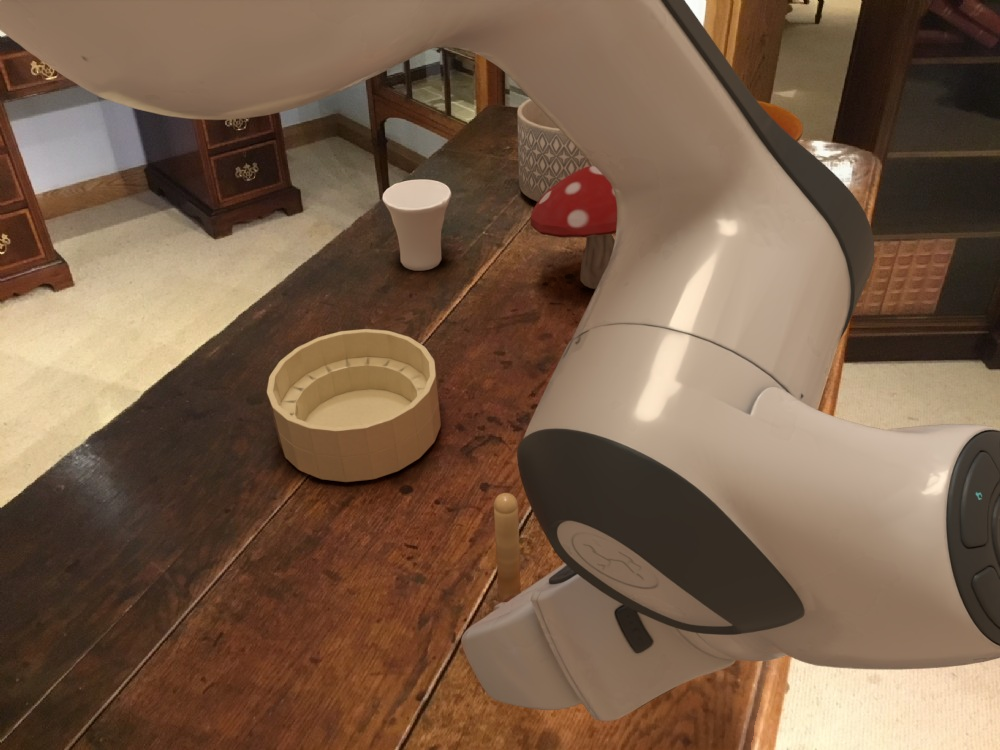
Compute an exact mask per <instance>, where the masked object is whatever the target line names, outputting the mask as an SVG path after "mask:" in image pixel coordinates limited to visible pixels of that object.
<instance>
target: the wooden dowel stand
mask: <svg viewBox="0 0 1000 750" xmlns="http://www.w3.org/2000/svg"><path fill="white" fill-rule="evenodd" d="M493 514H494V515H493V516H494V517H493V518H494V533H495V535H494V536H495V553H496V571H497V589H498V604H499V603H501V602H502V601H504V600H505V599H507V598H508V597H510V596H512V595H513V594H516V595H517V594H520V593H521V592H522V591H521V589H522V588H521V587H522V586H521V561H520V560H521V558H520V557H521V555H520V527H519V526H520V524H519V523H520V521H519V503H518V500H517V497H516V496H515V495H514V494H512V493H509V492H502V493H500V494H498V495H497V496H496V497H495V499H494V501H493ZM493 611H494V610H492V611H491V612H489V613H488V614H487V615H489V614H490V613H492V612H493Z"/></svg>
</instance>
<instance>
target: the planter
mask: <svg viewBox="0 0 1000 750" xmlns="http://www.w3.org/2000/svg"><path fill="white" fill-rule="evenodd" d="M516 113H517V114H516V116H517V153H518V155H517V156H518V157H517V158H518V160H517V161H518V186H519V190H520V191H521V193H522V194H523V195H525V196H526V197H527V198H528V199H531V200H533V201H535V202H536V203H538V201H539V200H540V198H541V197H542V196H543V195H544V194H545V193H546V192H547V191H548V190H549V189H551V188H552V187H553V186H555V185H556V184H557V183H558V182H560V181H561V180H563V179H564V178H566V177H567V176H569V175H571V174H573V173H574V172H576V171H578V170H580V169H583V168H585V167H588V166H594V165H593V164H592V163H591V162H590V161H589V160H588V158H587V157H586V156H585V155H584V154H583V153H582V152H581V151H580V150H579V149H578V148H577V147H576V146H575V145H574V144H573V143H572V142H571V141H570V140H569V139H568V138H567V136H566V135H565V134H564V133H563V132H562V131H561V130H560V129H559V128H558V127H557V126H556V125H555V124H554V123H553V122H552V121H551V120H550V119H549V118H548V117H547V116H546V114H545V113H544V112H543V111H542V110H541V109H540V108H539V107H538V106H537V105H536V104H535V103H534V102H533V101H532V100H531V99H530V98H529V99H526V100H525V101H523V102H522V103H521V104H520V105H519V106H518V108H517V111H516Z"/></svg>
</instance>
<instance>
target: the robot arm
mask: <svg viewBox="0 0 1000 750" xmlns="http://www.w3.org/2000/svg"><path fill="white" fill-rule="evenodd" d="M0 31H1V32H2V33H3V34H5V35H6V36H7V37H8V38H10V39H11V40H12V41H13V42H15V43H17V45H19V46H20V47H21V48H23V49H24V50H26V51H27V52H28V53H30V54H31V55H32V56H34V57H36V58H37V59H38V60H39V61H41V62H42V63H43V64H45V65H47V66H48V67H50V68H51V69H53V70H54V71H56V72H57V73H58V74H60V75H61V76H63V77H65V78H66V79H68V80H69V81H71V82H72V83H74V84H76V85H78V86H79V87H81V88H83V89H84V90H86V91H87V92H89V93H91V94H93V95H96V96H97V97H99V98H101V99H104V100H107V101H110V102H113V103H116V104H119V105H122V106H125V107H129V108H132V109H135V110H139V111H143V112H148V113H152V114H156V115H161V116H167V117H173V118H181V119H189V120H204V121H205V120H206V121H207V120H209V121H225V120H226V121H227V120H242V119H243V120H244V119H250V118H257V117H264V116H268V115H269V116H270V115H274V114H279V113H283V112H287V111H291V110H294V109H297V108H300V107H303V106H306V105H309V104H313V103H316V102H317V101H320V100H324V99H325V98H328V97H330V96H333V95H335V94H338V93H341V92H343V91H345V90H348V89H350V88H352V87H354V86H357V85H359V84H361V83H363V82H365V81H367V80H369V79H371V78H374V77H376V76H378V75H380V74H383V73H384V72H387V71H388V70H390V69H393V68H395V67H397V66H398V65H401V64H402V63H405V62H407V61H409V60H410V59H413V58H414V57H416V56H417V57H418V56H419V55H421V54H423V53H425V52H428V51H429V50H432V49H436V48H454V49H460V50H464V51H468V52H471V53H474V54H476V55H478V56H480V57H482V58H483V59H486V60H487V61H488V62H490V63H492V64H493V65H495V66H496V67H498V68H499V69H500V70H502V71H503V72H504V73H505V74H506V75H507V76H508V77H509V78H510V79H511V80H512V81H513V82H514V83H515V84H516V85H517V87H518V88H520V90H522V92H523V93H524V94H526V96H527V97H528V98H529V99H531V100H532V101H533V102H534V103H535V104H536V105H537V106H538V107H539V108H540V109H541V110H542V111H543V112H544V113H545V114H546V116H547V117H548V118H549V119H550V120H551V121H552V122H553V123H554V124H555V125H556V126H557V127H558V128H559V129H560V130H561V131H562V132H563V133H564V134H565V135H566V136H567V138H568V139H569V140H570V141H571V142H572V143H573V144H574V145H575V146H576V147H577V148H578V149H579V150H580V151H581V152H582V153H583V154H584V155H585V156H586V157H587V158H588V160H589V161H590V162H591V163H592V164H593V165H594V166H595V167H596V168H597V169H598V170H599V171H600V172H601V173H602V174H603V175H604V176H605V177H606V178H607V180H608V181H609V182H610V184H611V185H612V187H613V190H614V193H615V197H616V203H617V229H616V233H615V237H614V240H615V243H614V247H613V252H612V255H611V258H610V261H609V263H608V266H607V268H606V270H605V272H604V274H603V276H602V278H601V280H600V282H599V284H598V286H597V288H596V289H594V292H593V295H592V296H591V298H590V300H589V302H588V304H587V307H586V309H585V311H584V313H583V315H582V316H581V319H580V321H579V323H578V326H577V327H576V329H575V331H574V333H573V335H572V337H571V340H570V341H569V342H568V343H567V345H566V347H565V349H564V351H563V353H562V355H561V357H560V358H559V360H558V363H557V365H556V367H555V368H554V371H553V373H552V374H551V377H550V379H549V382H548V383H547V385H546V388H545V390H544V392H543V394H542V395H541V398H540V400H539V402H538V404H537V407H536V409H535V411H534V413H533V414H532V417H531V419H530V421H529V424H528V425H527V428H526V430H525V433H524V435H523V437H522V440H521V441H520V442H519V443H518V446H517V449H516V460H517V466H518V472H519V478H520V482H521V484H522V487H523V490H524V493H525V496H526V499H527V501H528V503H529V506H530V508H531V510H532V512H533V514H534V516H535V518H536V520H537V522H538V524H539V526H540V528H541V530H542V532H543V533H544V535H545V537H546V539H547V540H548V542H549V544H550V546H551V547H552V549H553V551H554V552H555V553H556V555H557V556H558V558H559V559H560V560H561V561H562V562H563V564H561V565H560V566H558V567H557V568H555V569H554V570H552V571H551V572H550V573H548V574H547V575H545V576H543V577H542V578H541V579H539V580H537V581H536V582H535V583H533V584H532V585H530V586H528V587H527V588H525V589H524V590H523V591H521V593H520V594H517V595H516V594H513V595H512V596H510V597H508V598H507V599H505V600H504V601H502V602H501V603H499V602H498V604H496V605H495V606H494V607H493V610H492V611H493V612H492V611H491V612H492V613H491V612H489V613H490V614H489V613H488V614H489V615H488V614H487V615H485V616H484V617H483V618H481V619H480V620H478V621H477V622H475V623H474V624H472V625H470V626H469V627H468V628H467V629H466V630H465V631H464V633H463V634H462V636H461V639H460V640H461V641H460V644H461V648H462V651H463V653H464V655H465V657H466V660H467V662H468V664H469V666H470V668H471V669H472V671H473V673H474V676H475V677H476V679H477V681H478V682H479V684H480V685H481V687H482V689H483V690H484V692H485V693H486V694H487V696H488V697H490V698H491V699H492V700H494V701H497V702H500V703H503V704H506V705H511V706H515V707H520V708H526V709H532V710H540V711H560V710H565V709H569V708H574V707H576V706H580V705H583V707H584V708H585V709H586V710H587V712H588V714H589V715H590V716H591V717H592V718H593V719H594V720H596V721H599V722H613V721H617V720H619V719H623V718H624V717H626V716H628V715H629V714H631V713H632V712H634V711H636V710H639V709H640V708H642V707H643V706H645V705H647V704H648V703H650V702H652V701H654V700H656V699H657V698H659V697H661V696H663V695H665V694H667V693H668V692H670V691H673V690H674V689H676V688H677V687H679V686H682V685H683V684H685V683H688V682H690V681H693V680H695V679H698V678H701V677H704V676H707V675H711V674H713V673H716V672H719V671H722V670H724V669H727V668H730V667H731V666H732V665H734V664H735V662H736V661H739V662H741V661H742V662H752V663H753V662H769V661H773V660H774V661H775V660H778V659H781V658H784V657H787V656H788V657H790V658H792V659H794V660H797V661H798V662H802V663H804V664H808V665H811V666H815V667H826V668H832V669H833V668H834V669H849V670H872V671H873V670H874V671H875V670H876V671H877V670H879V671H880V670H881V671H885V670H888V671H891V670H892V671H893V670H894V671H896V670H897V671H902V670H928V669H930V670H931V669H941V668H942V669H943V668H954V667H960V666H961V667H963V666H968V665H975V664H981V663H985V662H990V661H993V660H994V661H995V660H997V659H1000V428H998V427H994V426H992V425H986V424H985V425H984V424H977V423H976V424H975V423H945V424H944V423H943V424H926V425H913V426H903V427H895V428H887V429H886V428H880V427H875V426H870V425H865V424H861V423H857V422H854V421H850V420H847V419H843V418H841V417H838V416H834V415H831V414H829V413H826V412H824V411H821V410H819V407H820V403H821V401H822V398H823V395H824V391H825V388H826V385H827V381H828V379H829V376H830V373H831V369H832V366H833V364H834V360H835V357H836V354H837V351H838V347H839V345H840V341H841V339H842V338H843V336H844V335H845V332H846V331H847V329H848V326H849V324H850V321H851V319H852V317H853V314H854V313H855V310H856V308H857V305H858V303H859V301H860V298H861V297H862V294H863V292H864V289H865V287H866V286H867V285H866V284H867V283H868V280H869V278H870V276H871V273H872V270H873V266H874V262H875V252H876V251H875V240H874V233H873V230H872V227H871V224H870V221H869V219H868V216H867V214H866V213H865V210H864V209H863V207H862V206H861V204H860V202H859V200H858V199H857V198H856V196H855V195H854V194H853V192H852V191H851V190H850V189H849V188H848V186H847V185H846V184H845V182H843V181H842V180H841V179H840V178H839V177H838V176H837V175H836V174H835V172H833V171H832V170H831V169H830V168H829V167H828V166H826V165H825V164H824V163H823V162H822V161H821V160H820V159H818V158H817V156H815V155H814V154H812V153H811V152H810V151H809V150H808V149H806V147H804V146H803V145H802V144H801V143H800V142H798V141H796V140H795V139H794V138H792V137H791V136H790V135H789V134H788V133H787V132H786V131H785V130H784V129H782V128H781V127H780V126H779V125H778V124H777V123H776V122H775V121H774V120H773V119H772V118H771V117H770V116H769V114H768V113H767V112H766V111H765V110H764V109H763V108H762V107H761V105H760V104H759V103H758V102H757V101H758V100H757V99H756V98H755V97H754V95H753V94H752V93H751V92H750V89H748V88H747V86H746V85H745V83H744V82H743V81H742V79H741V78H740V76H739V75H738V73H736V71H735V70H734V67H732V65H731V64H730V63H729V61H728V60H727V58H726V57H725V55H724V54H723V52H722V51H721V50H720V48H719V47H718V45H717V44H716V42H715V41H714V39H713V38H712V37H711V35H710V34H709V32H708V31H707V30H706V28H705V27H704V26H703V24H702V22H700V20H699V19H698V17H697V16H696V14H695V13H694V11H693V10H692V9H691V7H690V6H689V4H688V3H687V2H686V0H0ZM756 100H757V101H756Z"/></svg>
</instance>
